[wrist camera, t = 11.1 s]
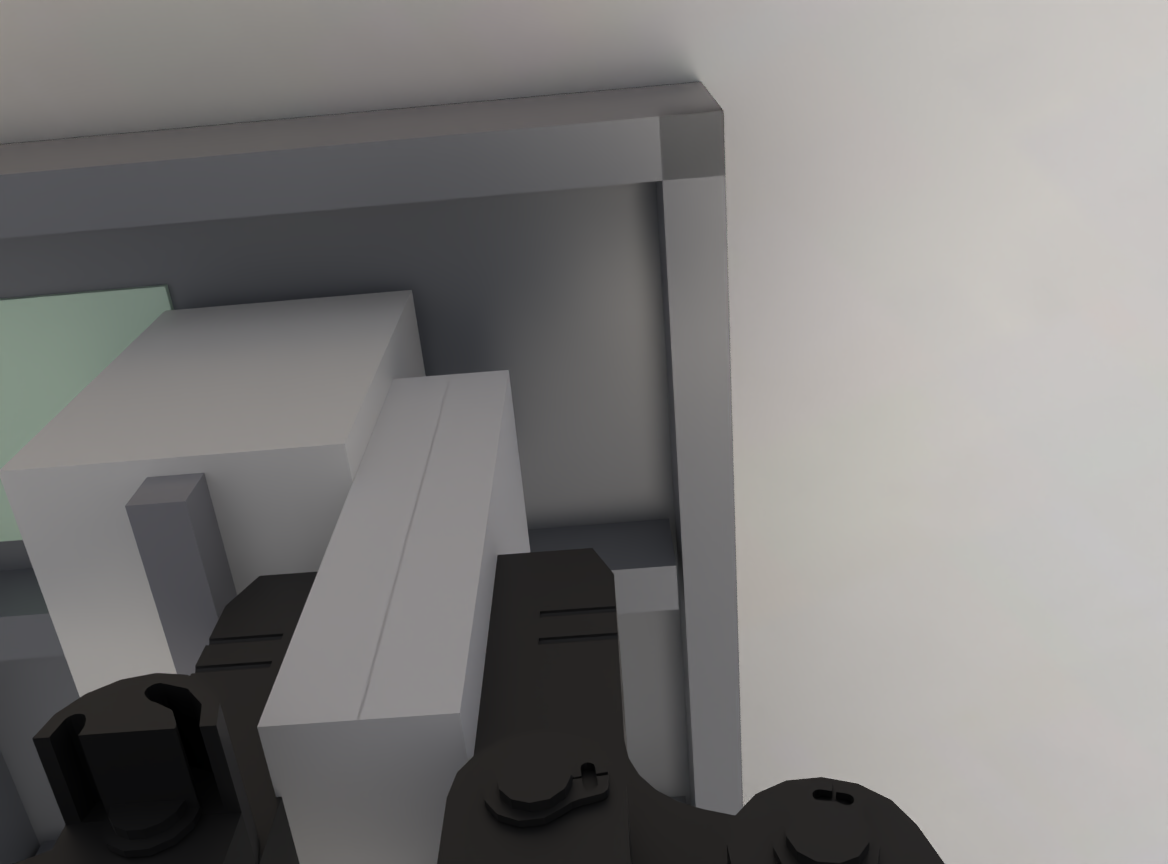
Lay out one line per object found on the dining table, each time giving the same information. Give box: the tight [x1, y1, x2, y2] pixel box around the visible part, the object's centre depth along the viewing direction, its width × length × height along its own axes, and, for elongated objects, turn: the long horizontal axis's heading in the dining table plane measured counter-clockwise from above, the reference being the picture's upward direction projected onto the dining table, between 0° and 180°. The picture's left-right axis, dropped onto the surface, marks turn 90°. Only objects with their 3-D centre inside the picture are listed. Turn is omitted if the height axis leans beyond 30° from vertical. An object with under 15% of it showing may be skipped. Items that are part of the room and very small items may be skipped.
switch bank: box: [0, 82, 743, 864], centre depth 19 cm, size 14×20×3 cm
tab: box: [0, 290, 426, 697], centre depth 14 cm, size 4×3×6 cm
